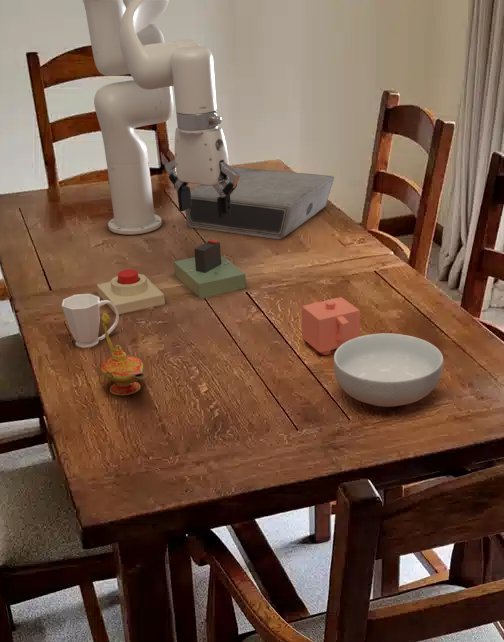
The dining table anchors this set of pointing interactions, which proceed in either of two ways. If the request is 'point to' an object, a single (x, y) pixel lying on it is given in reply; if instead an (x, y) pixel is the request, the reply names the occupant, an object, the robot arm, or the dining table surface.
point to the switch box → (131, 294)
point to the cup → (85, 318)
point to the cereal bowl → (387, 368)
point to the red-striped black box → (207, 256)
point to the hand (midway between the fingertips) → (204, 212)
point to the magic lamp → (121, 367)
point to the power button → (128, 277)
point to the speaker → (262, 203)
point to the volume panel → (210, 277)
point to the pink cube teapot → (330, 324)
